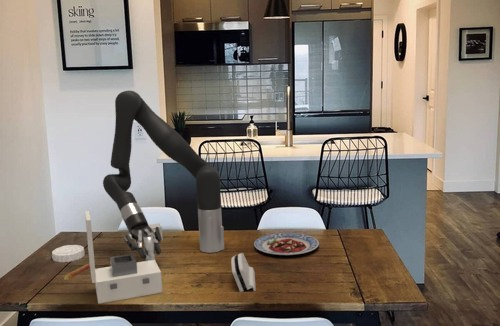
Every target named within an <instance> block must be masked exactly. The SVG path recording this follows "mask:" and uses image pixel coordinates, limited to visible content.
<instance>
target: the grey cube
mask: <svg viewBox="0 0 500 326" xmlns="http://www.w3.org/2000/svg"><path fill="white" fill-rule="evenodd" d="M148 225H149V227H151V228H156V227H158V228H159V231H160V235H161V239H162V240H161V241H163V239H164V238H163V228H162V225H161V224H160V223H151V224H148ZM151 234H152V235H153V236H154V238H155V235H154V234H153V232H151Z"/></svg>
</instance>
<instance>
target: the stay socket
mask: <svg viewBox="0 0 500 326" xmlns="http://www.w3.org/2000/svg"><path fill="white" fill-rule="evenodd" d="M109 261H110V262H109V263H110V267H111V271H112V275H113V277H117V276H123V275H130V274H136V273H137V260H136V256H135V254H134V253H131V254H124V255H117V256H111V257H109Z"/></svg>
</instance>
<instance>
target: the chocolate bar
mask: <svg viewBox="0 0 500 326" xmlns="http://www.w3.org/2000/svg"><path fill="white" fill-rule="evenodd" d="M89 270H90V262H88V263H86V264H84V265H83V266H82V265H81V266H80V267H77V269H74V270H73V271H70V272H68V273H67V274H65V275H64V278H63V280H65V281H69V280H72V279H73V278H76V277H77V276H79V275H80V274H83V273H85V272H87V271H89Z"/></svg>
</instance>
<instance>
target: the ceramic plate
mask: <svg viewBox="0 0 500 326" xmlns="http://www.w3.org/2000/svg"><path fill="white" fill-rule="evenodd" d="M253 245H254V247H255V249H256V250H258V251H260V252H263V253H266V254H270V255H278V256H293V255H301V254H306V253H309V252H312V251H314V250H316V249H317V248H318V247H319V245H320V243H319V241H318V239H316V238H315V237H313V236H310V235H309V234H308V235H307V234H303V233H297V232H296V233H295V232H279V233H276V232H275V233H270V234H267V235H266V234H265V235H263V236H260V237H259V238H257V239H256V240H255V241H254V243H253Z"/></svg>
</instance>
